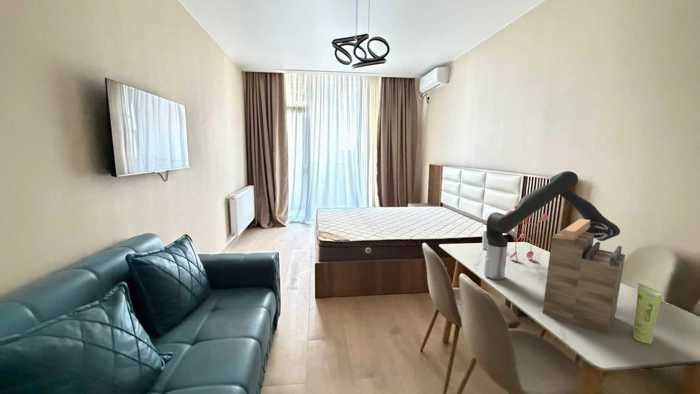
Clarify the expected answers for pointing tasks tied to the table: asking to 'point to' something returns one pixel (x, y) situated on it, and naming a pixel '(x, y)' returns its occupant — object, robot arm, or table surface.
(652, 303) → the tube
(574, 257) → the wooden knife block
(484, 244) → the supplement box
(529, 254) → the figurine
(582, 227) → the bar
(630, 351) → the table surface
